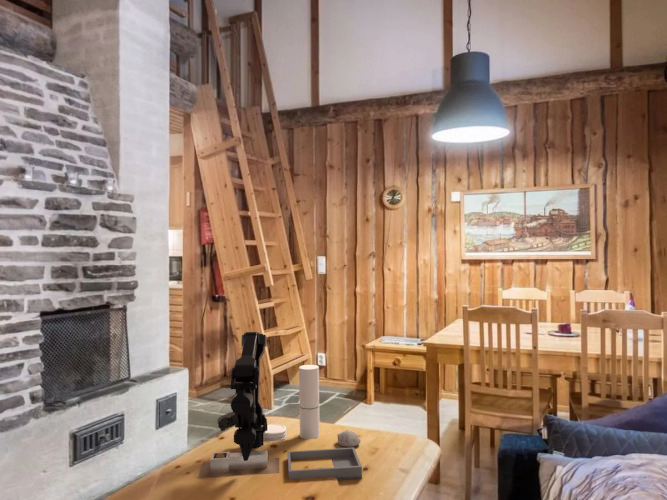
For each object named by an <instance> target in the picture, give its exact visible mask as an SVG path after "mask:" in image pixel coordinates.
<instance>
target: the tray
mask: <svg viewBox="0 0 667 500" xmlns="http://www.w3.org/2000/svg"><path fill="white" fill-rule="evenodd" d="M286 453H287V454H286V455H287V468H288V469H287V471H288V480H299V479H301V480H304V479H316V478H331V477H336V480H337V481H347V480H359V479H361V480H362V479H363V467H362V463H361V461H360V458H359V456H358V453H357V451H356V449H355V447H350V448H348V447H341V448H325V449H324V448H323V449H311V450H310V449H308V450H306V449H304V450H290V451H289V450H288V451H287V452H286ZM322 458H323V459H325V458H331V463H332V466H333V467H322V468H321V467H319V468H305V469H292V460H306V459H322Z"/></svg>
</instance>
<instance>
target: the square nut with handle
mask: <svg viewBox="0 0 667 500" xmlns="http://www.w3.org/2000/svg"><path fill="white" fill-rule="evenodd" d="M268 452H269V451H268V450H261V451H260V450H259V451H258V450H257V451H251V453H250V455H249V458H248V460H247V461H244V459H243V456H242V452H231V451H218V452H217V451H216V452H211V457H210V458H209V459H210V460H209V462H210V473H218V472H229V470H239V469H255V468H268V458H269V455H268V454H269V453H268ZM219 453H223V454H224V455H225V458H216V455H217V454H219Z"/></svg>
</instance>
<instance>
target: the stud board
mask: <svg viewBox="0 0 667 500" xmlns="http://www.w3.org/2000/svg"><path fill="white" fill-rule="evenodd" d="M216 458H225V455H224V454H223V453H219V454H217V455H216ZM279 473H280V457H268V468H255V469H239V470H229V472H218V473H210V461H204V462H203V461H202V463H201V466H200V470H199V473H198V475H197V479H205V478H206V479H207V478H221V477H235V476H237V477H238V476H251V475H265V474H269V475H270V474H279Z"/></svg>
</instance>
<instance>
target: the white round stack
mask: <svg viewBox="0 0 667 500" xmlns="http://www.w3.org/2000/svg"><path fill="white" fill-rule="evenodd" d="M287 436H288V435H287V427H286V426H285V425H283V424H279V423H270V424H268V423H267V431H265V433H263V437H264V442H278V441H282V442H283V441H284V440H285V439H286V438H287Z"/></svg>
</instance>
